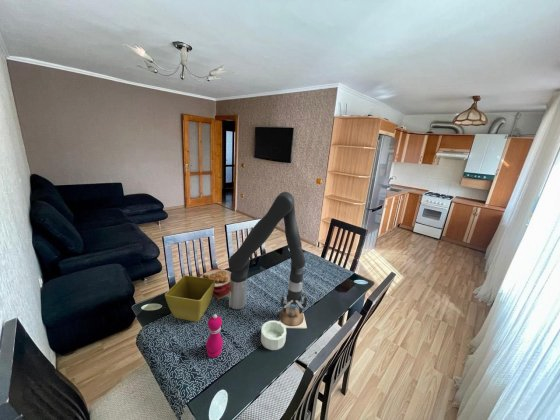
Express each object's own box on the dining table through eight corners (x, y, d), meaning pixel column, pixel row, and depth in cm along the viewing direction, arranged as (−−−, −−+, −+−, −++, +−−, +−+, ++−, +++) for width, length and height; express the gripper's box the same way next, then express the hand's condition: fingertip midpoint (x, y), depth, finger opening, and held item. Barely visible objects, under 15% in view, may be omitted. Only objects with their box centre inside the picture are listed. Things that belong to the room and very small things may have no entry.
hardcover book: (217, 304, 132) (217, 298, 131) (202, 287, 147) (202, 281, 146) (235, 297, 140) (235, 291, 139) (219, 281, 155) (219, 275, 154)
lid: (280, 326, 119) (281, 316, 117) (278, 308, 132) (279, 299, 131) (305, 326, 120) (306, 317, 119) (301, 309, 133) (302, 300, 132)
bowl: (260, 350, 105) (261, 339, 103) (260, 330, 116) (261, 320, 115) (286, 350, 106) (287, 340, 104) (283, 330, 117) (284, 320, 116)
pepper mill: (224, 345, 105) (225, 309, 100) (220, 359, 98) (221, 321, 93) (208, 344, 105) (208, 308, 100) (204, 358, 98) (204, 320, 93)
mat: (278, 328, 118) (279, 327, 118) (277, 308, 133) (277, 307, 133) (306, 328, 120) (306, 327, 120) (302, 309, 134) (302, 308, 134)
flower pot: (165, 322, 115) (163, 294, 111) (185, 299, 133) (184, 274, 129) (200, 329, 113) (200, 301, 109) (215, 304, 131) (216, 279, 127)
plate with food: (220, 295, 134) (220, 290, 133) (188, 283, 144) (188, 278, 143) (243, 276, 155) (243, 272, 154) (213, 267, 165) (213, 263, 164)
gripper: (282, 291, 117) (280, 317, 121) (309, 291, 118) (306, 317, 122) (281, 282, 124) (279, 307, 128) (306, 283, 125) (303, 308, 129)
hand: (292, 312), depth 125 cm, fingers open, 8 cm apart
